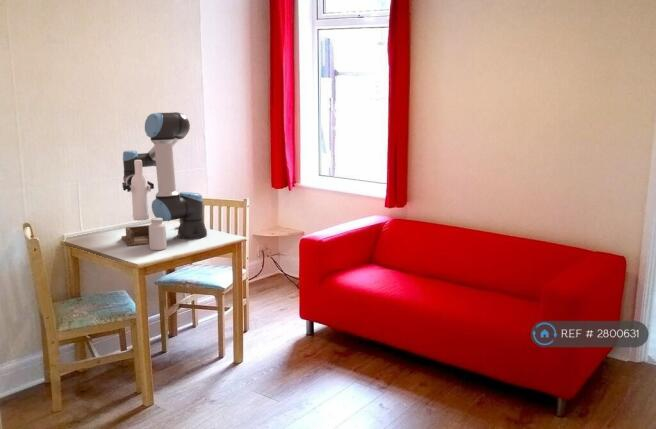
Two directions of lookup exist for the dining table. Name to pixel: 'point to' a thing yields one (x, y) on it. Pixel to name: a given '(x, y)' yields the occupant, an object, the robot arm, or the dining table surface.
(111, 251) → the dining table surface
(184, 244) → the dining table surface
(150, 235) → the pill bottle
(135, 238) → the bottle rest
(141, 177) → the bottle
